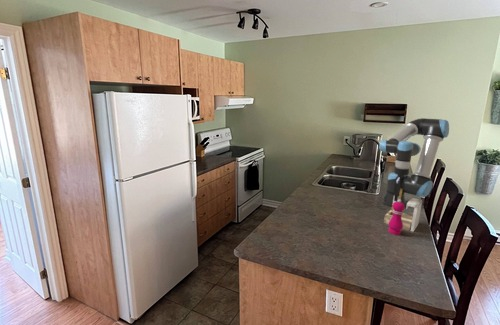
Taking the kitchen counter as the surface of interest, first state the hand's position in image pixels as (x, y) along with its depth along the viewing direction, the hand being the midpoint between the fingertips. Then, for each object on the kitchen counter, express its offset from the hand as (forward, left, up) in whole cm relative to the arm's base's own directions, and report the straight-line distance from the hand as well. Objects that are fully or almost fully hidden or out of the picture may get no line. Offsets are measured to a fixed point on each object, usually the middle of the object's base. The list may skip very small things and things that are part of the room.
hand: (396, 204), depth 164 cm
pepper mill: (+14, +4, -12) cm, 19 cm away
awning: (0, +9, -12) cm, 15 cm away
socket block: (0, +3, -12) cm, 12 cm away
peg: (0, 0, -4) cm, 4 cm away
